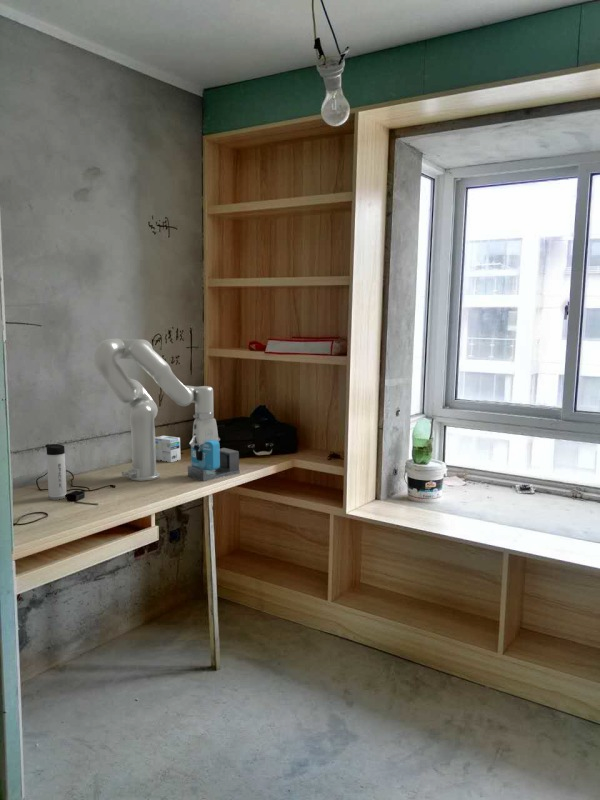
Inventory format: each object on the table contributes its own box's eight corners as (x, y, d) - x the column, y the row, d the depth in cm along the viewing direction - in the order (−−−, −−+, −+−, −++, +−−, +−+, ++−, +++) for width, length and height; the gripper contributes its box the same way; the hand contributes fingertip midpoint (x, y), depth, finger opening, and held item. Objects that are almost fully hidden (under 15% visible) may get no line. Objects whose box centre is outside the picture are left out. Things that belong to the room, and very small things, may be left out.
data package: (191, 467, 266) (190, 439, 264) (198, 465, 270) (197, 437, 268) (213, 471, 260) (212, 442, 258) (220, 469, 263) (219, 440, 262)
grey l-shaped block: (203, 481, 258) (203, 458, 256) (187, 476, 265) (187, 454, 264) (239, 473, 271) (239, 451, 270) (223, 468, 279) (223, 447, 277)
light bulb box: (181, 460, 296) (180, 437, 294) (171, 462, 290) (170, 439, 288) (164, 457, 301) (163, 434, 300) (154, 459, 296) (153, 437, 294)
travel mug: (51, 495, 236) (48, 442, 233) (69, 495, 236) (66, 442, 234) (45, 500, 230) (42, 446, 227) (63, 500, 230) (61, 446, 228)
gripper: (192, 419, 253) (193, 463, 255) (226, 414, 265) (227, 457, 267) (181, 417, 258) (183, 460, 261) (215, 413, 270) (216, 454, 273)
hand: (205, 458), depth 264 cm, fingers closed on data package, 5 cm apart
